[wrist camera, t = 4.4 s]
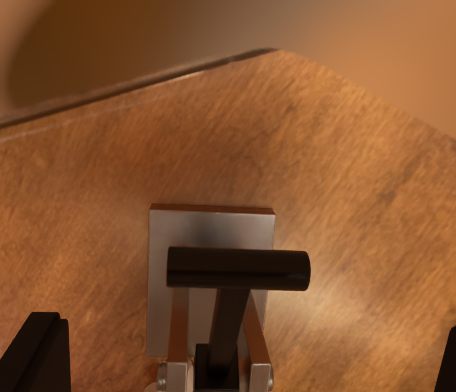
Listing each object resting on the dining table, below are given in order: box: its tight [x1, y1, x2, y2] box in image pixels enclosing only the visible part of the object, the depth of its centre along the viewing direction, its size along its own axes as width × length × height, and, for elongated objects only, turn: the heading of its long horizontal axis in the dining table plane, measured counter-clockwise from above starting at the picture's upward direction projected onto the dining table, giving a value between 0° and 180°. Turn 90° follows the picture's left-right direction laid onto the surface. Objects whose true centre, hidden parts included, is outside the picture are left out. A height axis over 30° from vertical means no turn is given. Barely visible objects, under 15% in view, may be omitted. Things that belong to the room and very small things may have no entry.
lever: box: [166, 246, 311, 392], centre depth 19 cm, size 12×5×2 cm, turn 176°
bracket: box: [146, 203, 276, 392], centre depth 27 cm, size 12×9×13 cm
